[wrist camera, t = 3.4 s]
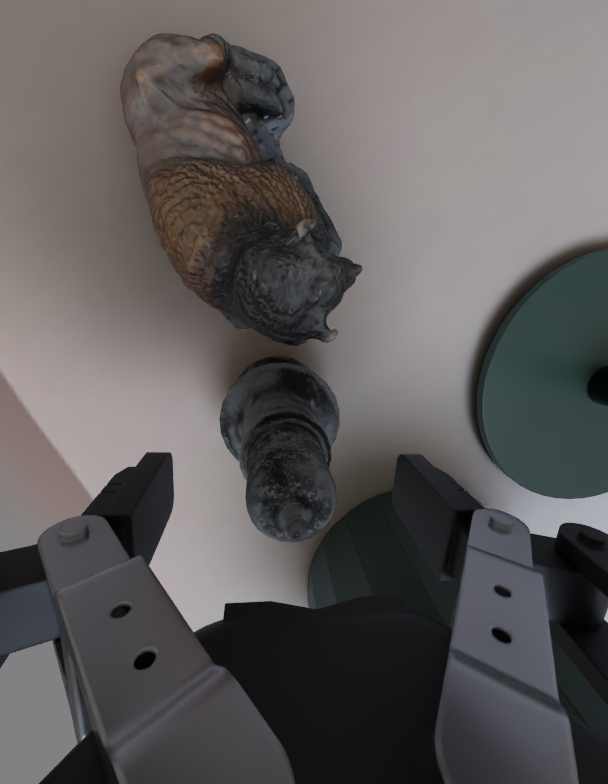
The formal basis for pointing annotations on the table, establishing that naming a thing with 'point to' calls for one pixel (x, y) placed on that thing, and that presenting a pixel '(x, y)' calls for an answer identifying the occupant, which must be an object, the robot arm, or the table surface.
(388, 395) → the table surface
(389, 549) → the bin
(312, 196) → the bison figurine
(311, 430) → the salt shaker
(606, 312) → the bin lid
